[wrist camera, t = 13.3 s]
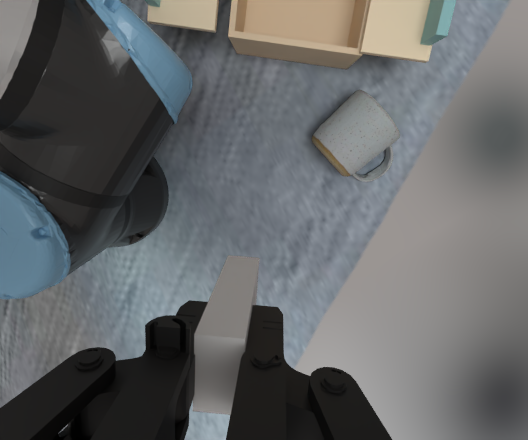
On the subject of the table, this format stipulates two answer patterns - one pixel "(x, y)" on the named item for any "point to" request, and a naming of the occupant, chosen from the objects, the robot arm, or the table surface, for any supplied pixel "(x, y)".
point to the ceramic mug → (357, 136)
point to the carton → (299, 30)
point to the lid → (405, 28)
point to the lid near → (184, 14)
